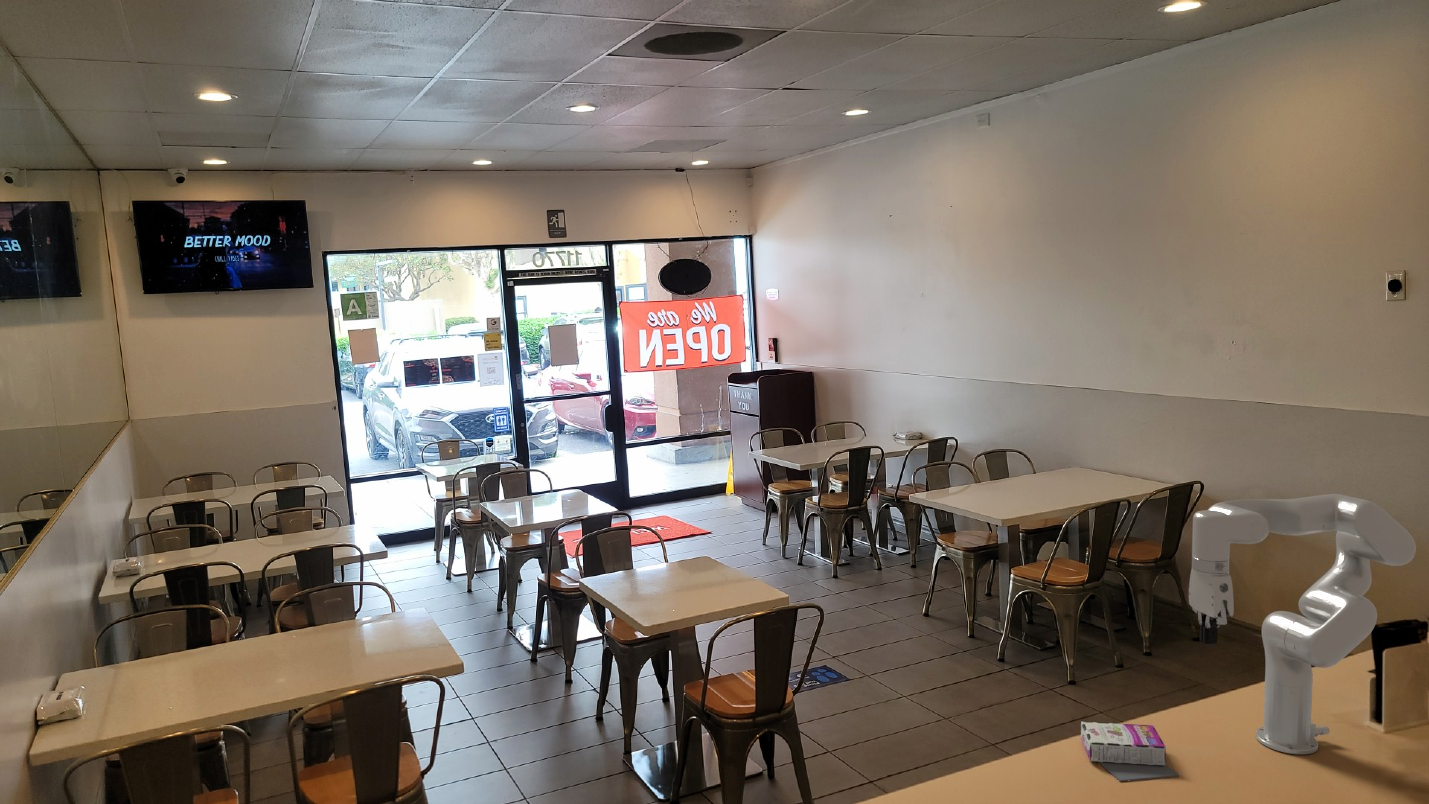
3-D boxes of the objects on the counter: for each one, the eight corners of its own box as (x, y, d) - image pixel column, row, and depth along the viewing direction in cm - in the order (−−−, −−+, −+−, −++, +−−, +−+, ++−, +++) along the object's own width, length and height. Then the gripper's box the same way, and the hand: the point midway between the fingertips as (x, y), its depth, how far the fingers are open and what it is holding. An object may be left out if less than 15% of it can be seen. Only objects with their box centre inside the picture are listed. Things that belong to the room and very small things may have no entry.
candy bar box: (1153, 744, 218) (1080, 739, 221) (1153, 724, 217) (1080, 719, 221) (1165, 768, 207) (1089, 762, 211) (1166, 747, 207) (1089, 741, 210)
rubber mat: (1142, 746, 218) (1142, 745, 218) (1178, 776, 204) (1178, 774, 204) (1087, 751, 216) (1087, 750, 216) (1119, 781, 202) (1119, 780, 202)
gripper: (1248, 573, 202) (1245, 653, 204) (1204, 555, 216) (1202, 630, 218) (1216, 575, 201) (1214, 656, 203) (1174, 557, 216) (1173, 632, 217)
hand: (1208, 642), depth 210 cm, fingers closed
